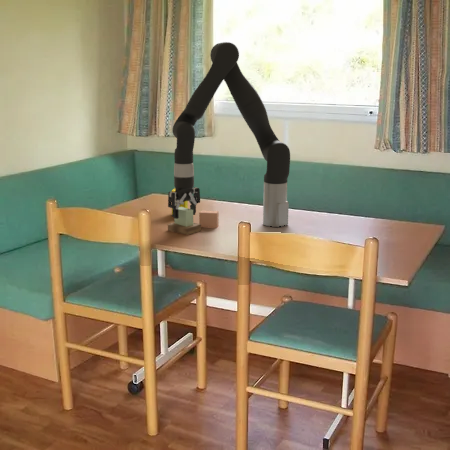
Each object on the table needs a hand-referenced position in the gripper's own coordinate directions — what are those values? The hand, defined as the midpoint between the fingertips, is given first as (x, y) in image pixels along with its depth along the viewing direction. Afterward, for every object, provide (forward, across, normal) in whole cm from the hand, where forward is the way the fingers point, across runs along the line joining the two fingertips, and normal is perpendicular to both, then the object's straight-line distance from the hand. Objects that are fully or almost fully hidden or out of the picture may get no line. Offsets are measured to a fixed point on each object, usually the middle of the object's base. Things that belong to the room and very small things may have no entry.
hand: (184, 216), depth 244 cm
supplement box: (+6, +15, +20) cm, 26 cm away
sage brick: (+3, 0, 0) cm, 3 cm away
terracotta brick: (+6, +11, -2) cm, 13 cm away
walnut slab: (+6, 0, 0) cm, 6 cm away
